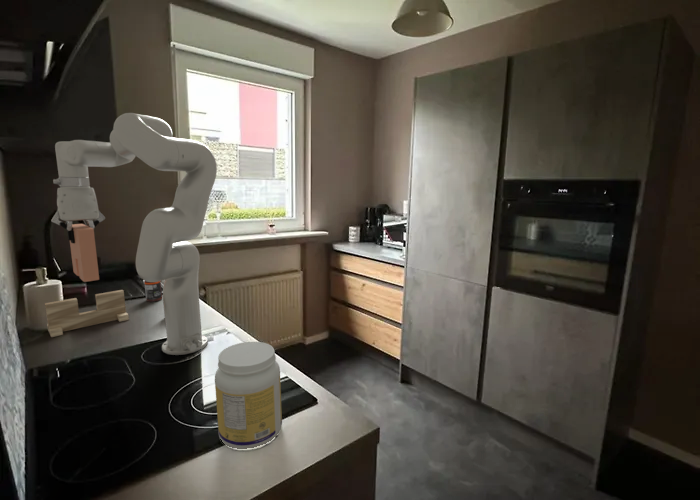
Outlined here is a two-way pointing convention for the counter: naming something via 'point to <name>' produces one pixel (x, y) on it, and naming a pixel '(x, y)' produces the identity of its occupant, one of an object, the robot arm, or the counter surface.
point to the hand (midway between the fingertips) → (81, 241)
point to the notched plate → (84, 253)
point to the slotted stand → (69, 318)
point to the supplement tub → (248, 395)
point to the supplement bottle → (153, 291)
